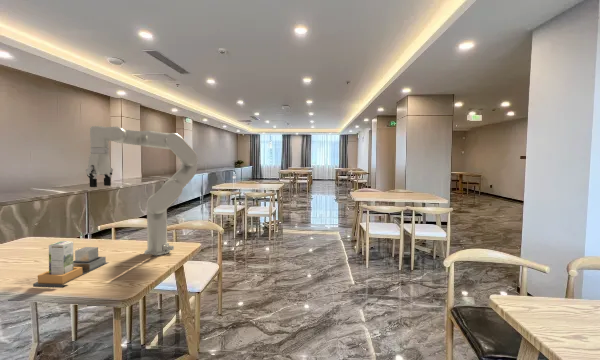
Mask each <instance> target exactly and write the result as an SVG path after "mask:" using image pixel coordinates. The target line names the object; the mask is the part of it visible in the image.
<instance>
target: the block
mask: <svg viewBox="0 0 600 360" xmlns="http://www.w3.org/2000/svg"><path fill="white" fill-rule="evenodd" d="M74 254H75V256H74V257H75V258H74V259H75V263H90V262H93V261H95V260H97V259H98V257H99V247H96V246H84V247H82V248H79V249H76V250H74Z"/></svg>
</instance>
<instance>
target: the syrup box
mask: <svg viewBox="0 0 600 360" xmlns="http://www.w3.org/2000/svg"><path fill="white" fill-rule="evenodd" d="M73 261H74V241H69V240H62V241H57V242H54V243H51V244H49V245H48V271H49V275H63V274H65V273H68V272H70V271H72V270H73Z"/></svg>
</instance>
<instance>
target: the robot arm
mask: <svg viewBox="0 0 600 360" xmlns="http://www.w3.org/2000/svg"><path fill="white" fill-rule="evenodd" d="M89 138H90V141H89V143H90V148H89V149H90V150H89V152H90V154H89V156H88V161H87V162H88V163H87V169H85V173H86V175H87V177H88V180H89V188H97V187H98V179H97V177H98V176H100V175H102V176H103V177H104V178H103V186H104V187H110V186H111V185H112V184H111V183H112V182H111V179H112V175H113V171H114V168H112V167H111V159H110V149H109V148H110V147H109V144H110V143H109V141H110V142H115V143H117V144H118V143H119V144H127V145H133V146H140V147H145V148H146V147H147V148H156V149H165V150H170V151H172V153H173V154H174V155H175V156H176V157H177V158H178V159H179V160H180V163H181V164H180V165H181V166H179V167H180V168H179V169H178V170H177V171H176V172H175V173H174V174H173V175H172V176H171V177H169V179H167V180H166V181H165V182H164V183H163V185H162V186H161V187H160V188H159V189H158V190H157V191H156V192H155V193H154V194H151V195H150V196H149V197H148V198H147V201H146V220H147V223H146V224H147V225H146V230H147V232H146V235H147V239H146V240H147V249H145V250H144V251H143V253H144V255H152V256H153V257H154V256H163V255H166V254H169V253H170V252H171V251H174V250H175V246H174V245H170V243H169V242H168V214H167V211H168V209H169V208H170V207H171V205H172V204H173V203H174V202H176V201H177V199H178V198H179V197H181V195H182V193H183V189H185V187H186V186H187V185H188V184H189V183H190V182H191V180H192V179H193V178H194V177H195V176H196V173H197V170H198V161H199V156H198V153H197V152H196V151H195V150H194V149H193V148H192V147H191V146H190V145H189V144H188V143H187V142H186V140H185V139H184V137H183V136H181V135H180V134H178V133H176V132H171V133H169V132H160V131H156V130H155V131H154V130H130V129H126V128H125V129H124V128H122V127H120V126H99V125H94V126H90V128H89Z"/></svg>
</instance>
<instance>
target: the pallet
mask: <svg viewBox="0 0 600 360" xmlns="http://www.w3.org/2000/svg"><path fill="white" fill-rule="evenodd" d="M109 263H110V262H107V261H106V256H98V259H97V260H95V261H93V262H90V263H75V260H74V259H73V270H72V271H70V272H68V273H65V274H63V275H49V270H47V271H44V272H42V273H40V274H38V275H37V281H36V282H34V283H32V287H34V288H65V287H68V286H69V284H68V283H69V282H72V281H74V280H75V279H78V278H80V277H83V276H85V275H86V274H88V273H91V272H92V271H95V270H97V269H98V268H99V269H100V268H101V267H103V266H105V265H107V264H109Z"/></svg>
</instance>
